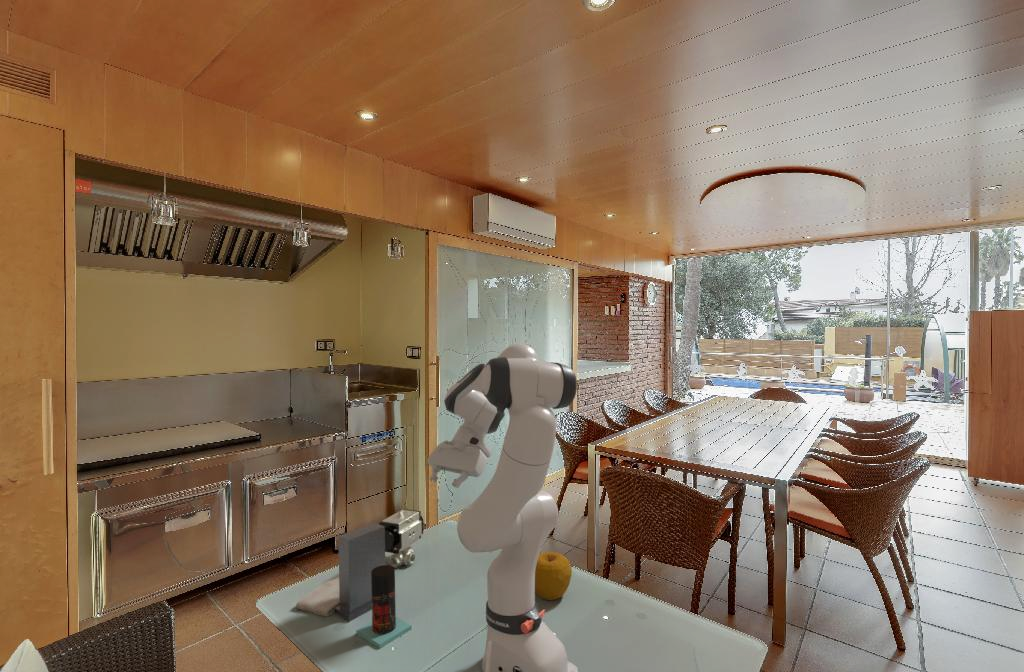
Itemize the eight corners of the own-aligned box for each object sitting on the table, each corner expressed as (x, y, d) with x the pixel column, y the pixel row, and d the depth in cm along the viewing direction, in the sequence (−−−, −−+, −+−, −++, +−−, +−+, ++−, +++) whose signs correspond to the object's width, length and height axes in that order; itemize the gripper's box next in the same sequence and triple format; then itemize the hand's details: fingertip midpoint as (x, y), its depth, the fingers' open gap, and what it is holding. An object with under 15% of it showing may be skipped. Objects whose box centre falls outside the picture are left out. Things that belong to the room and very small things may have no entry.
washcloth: (370, 588, 149) (370, 578, 149) (327, 620, 132) (327, 608, 132) (340, 581, 153) (339, 572, 154) (295, 611, 137) (295, 600, 137)
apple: (522, 587, 146) (522, 550, 147) (561, 580, 150) (560, 543, 151) (538, 609, 134) (537, 568, 134) (580, 601, 138) (579, 561, 138)
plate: (411, 629, 126) (411, 625, 126) (379, 648, 119) (379, 644, 119) (387, 616, 133) (387, 612, 133) (356, 634, 125) (356, 630, 125)
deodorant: (368, 628, 126) (367, 570, 126) (388, 618, 130) (387, 562, 130) (379, 637, 121) (378, 578, 122) (400, 627, 125) (399, 569, 126)
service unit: (390, 599, 141) (389, 526, 142) (348, 621, 130) (347, 542, 131) (376, 592, 146) (375, 521, 146) (334, 613, 135) (333, 536, 135)
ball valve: (397, 577, 154) (396, 522, 155) (375, 573, 158) (374, 519, 158) (428, 554, 171) (427, 504, 171) (408, 551, 174) (407, 502, 174)
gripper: (437, 434, 152) (413, 472, 144) (485, 441, 139) (462, 483, 131) (447, 445, 155) (425, 483, 148) (495, 454, 143) (474, 495, 135)
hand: (443, 483), depth 139 cm, fingers open, 8 cm apart
